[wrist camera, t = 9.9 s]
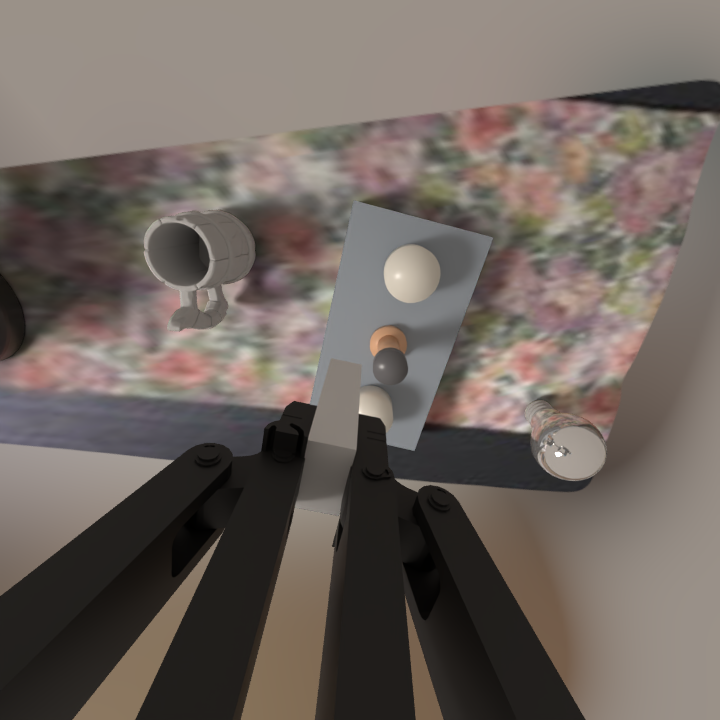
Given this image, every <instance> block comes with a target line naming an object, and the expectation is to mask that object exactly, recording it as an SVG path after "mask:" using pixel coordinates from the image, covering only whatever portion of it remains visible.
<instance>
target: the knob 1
mask: <svg viewBox="0 0 720 720" xmlns="http://www.w3.org/2000/svg"><path fill="white" fill-rule="evenodd" d="M359 414H363V415H368V416H372V417H377V418H380V419H381V420H382V422H383V423H384V425H385V426H386V433H387V432H388V431H389V429H390V428H391V426H392V423H393V409H392V400H391V398H390V396H389V394H388V393H387V392H386V391H385V390H383V389H382V388H380V387H377V386H363V387H360V402H359Z"/></svg>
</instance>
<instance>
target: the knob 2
mask: <svg viewBox="0 0 720 720" xmlns="http://www.w3.org/2000/svg"><path fill="white" fill-rule="evenodd" d="M384 280H385V284H386V287H387V289H388V291H389V292H390V294H391V295H392V296H393V297H395V298H396V299H398V300H400V301H402V302H406V303H416V302H420V301H423V300H425V299H426V298H428V297H429V296H430V295H431V294H432V293H433V292H434V291H435V290H436V288H437V286H438V284H439V280H440V266H439V263H438V260H437V259H436V257H435V256H434V255H433V254H432V253H431V252H430V251H429V250H427V249H425V248H424V247H422V246H419V245H416V244H406V245H402V246H400V247H398V248H396V249H395V250H393V251H392V252H391V253H390V255H389V256H388V258H387V259H386V262H385V265H384Z"/></svg>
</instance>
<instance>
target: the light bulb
mask: <svg viewBox="0 0 720 720" xmlns="http://www.w3.org/2000/svg"><path fill="white" fill-rule="evenodd" d="M525 418H526V419H527V421H528V422H529V423H530V425H531V429H532V434H531V439H530V445H531V451H532V454H533V456H534V458H535V460H536V461H537V463H538V464H539V465H540V466H541V467H542V468H543V469H544V470H545V471H546V472H548V473H549V474H551V475H553V476H555V477H557V478H560V479H563V480H570V481H580V480H584V479H587V478H590V477H592V476H593V475H595V474H596V473H597V472H598V471H599V470H600V469H601V468H602V467H603V465H604V462H605V460H606V455H607V450H606V443H605V440H604V438H603V436H602V434H601V433H600V431H599V430H598V429H597V427H596V426H595V425H593V424H592V423H591V422H590V421H588V420H587V419H585V418H583V417H580V416H578V415H574V414H570V413H561V412H559V411H557V410H555V409H554V408H553V407H552V406H551V405H550V404H549V403H548V402H546V401H543V400H537V401H534V402H532V403H530V404H529V405H528V406H527V407H526V410H525Z"/></svg>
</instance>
